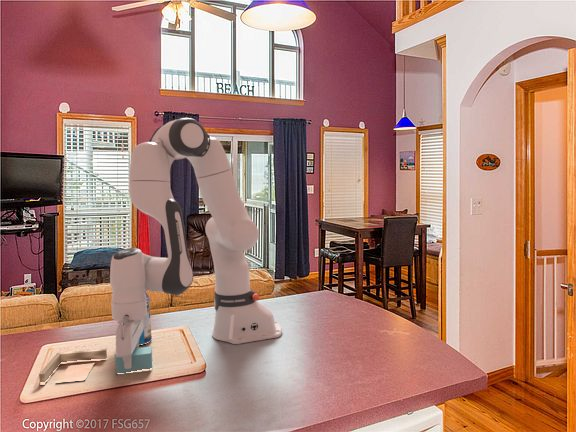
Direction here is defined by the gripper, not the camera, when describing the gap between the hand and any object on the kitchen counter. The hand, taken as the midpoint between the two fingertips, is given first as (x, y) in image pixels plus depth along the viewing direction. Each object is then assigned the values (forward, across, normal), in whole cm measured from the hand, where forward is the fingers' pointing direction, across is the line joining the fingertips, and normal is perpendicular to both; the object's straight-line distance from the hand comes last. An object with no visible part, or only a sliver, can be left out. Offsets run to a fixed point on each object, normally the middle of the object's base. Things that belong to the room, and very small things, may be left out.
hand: (131, 360), depth 119 cm
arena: (+3, +2, +15) cm, 15 cm away
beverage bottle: (+2, +20, +2) cm, 20 cm away
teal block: (+3, 0, -1) cm, 3 cm away
